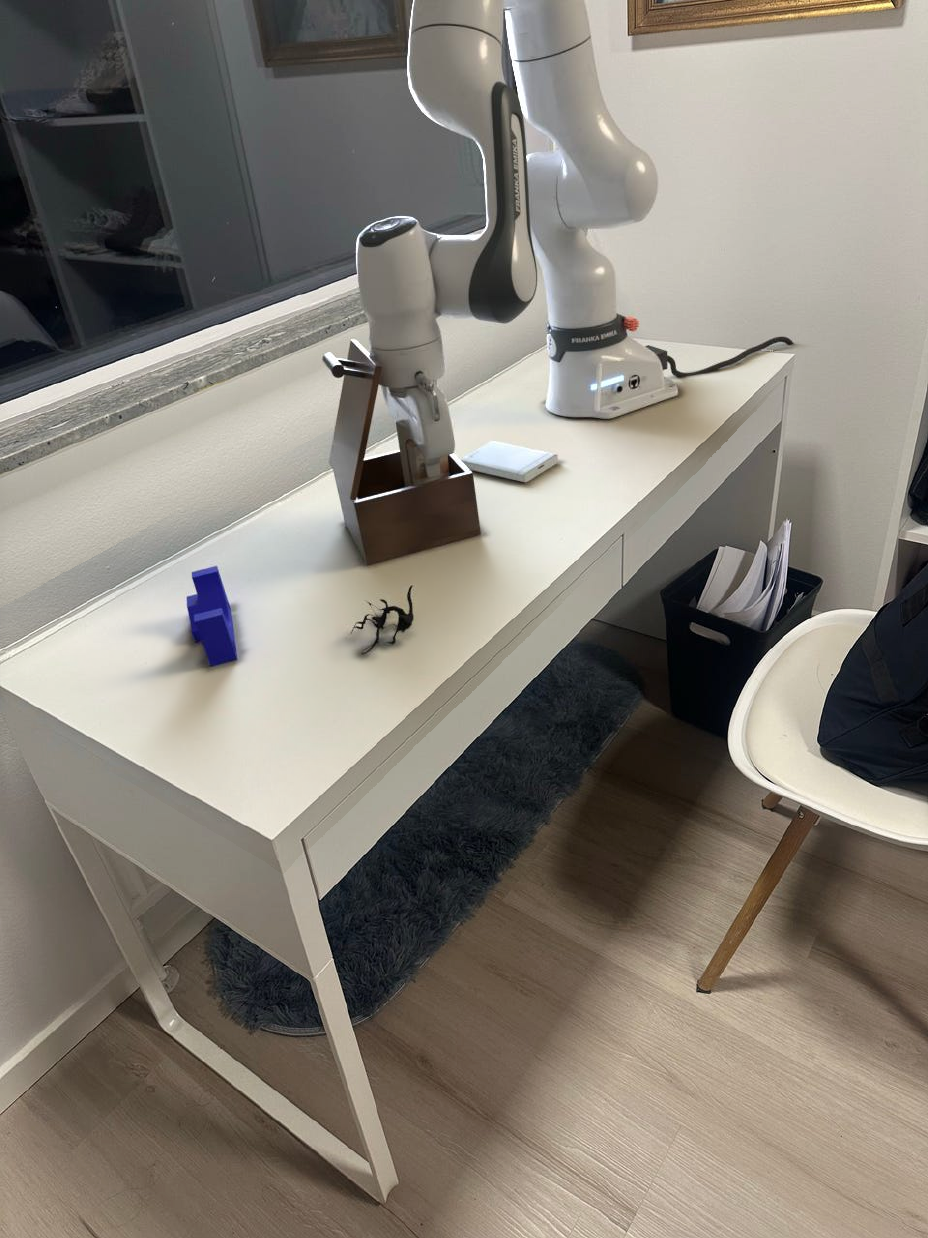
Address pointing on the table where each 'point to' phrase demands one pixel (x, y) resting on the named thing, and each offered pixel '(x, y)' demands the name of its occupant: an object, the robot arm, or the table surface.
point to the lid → (353, 413)
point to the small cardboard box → (415, 459)
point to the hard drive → (509, 461)
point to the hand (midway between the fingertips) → (425, 466)
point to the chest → (408, 509)
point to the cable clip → (212, 617)
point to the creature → (403, 619)
